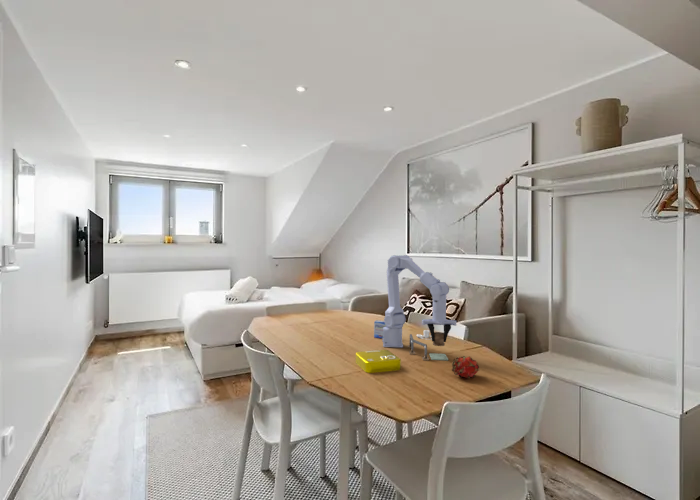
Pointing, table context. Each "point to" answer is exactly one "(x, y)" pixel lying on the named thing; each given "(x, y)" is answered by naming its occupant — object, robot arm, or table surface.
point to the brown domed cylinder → (438, 339)
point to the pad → (438, 356)
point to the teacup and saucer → (426, 334)
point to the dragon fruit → (465, 367)
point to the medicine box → (378, 328)
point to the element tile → (378, 361)
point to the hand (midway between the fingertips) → (438, 341)
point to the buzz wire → (419, 344)
